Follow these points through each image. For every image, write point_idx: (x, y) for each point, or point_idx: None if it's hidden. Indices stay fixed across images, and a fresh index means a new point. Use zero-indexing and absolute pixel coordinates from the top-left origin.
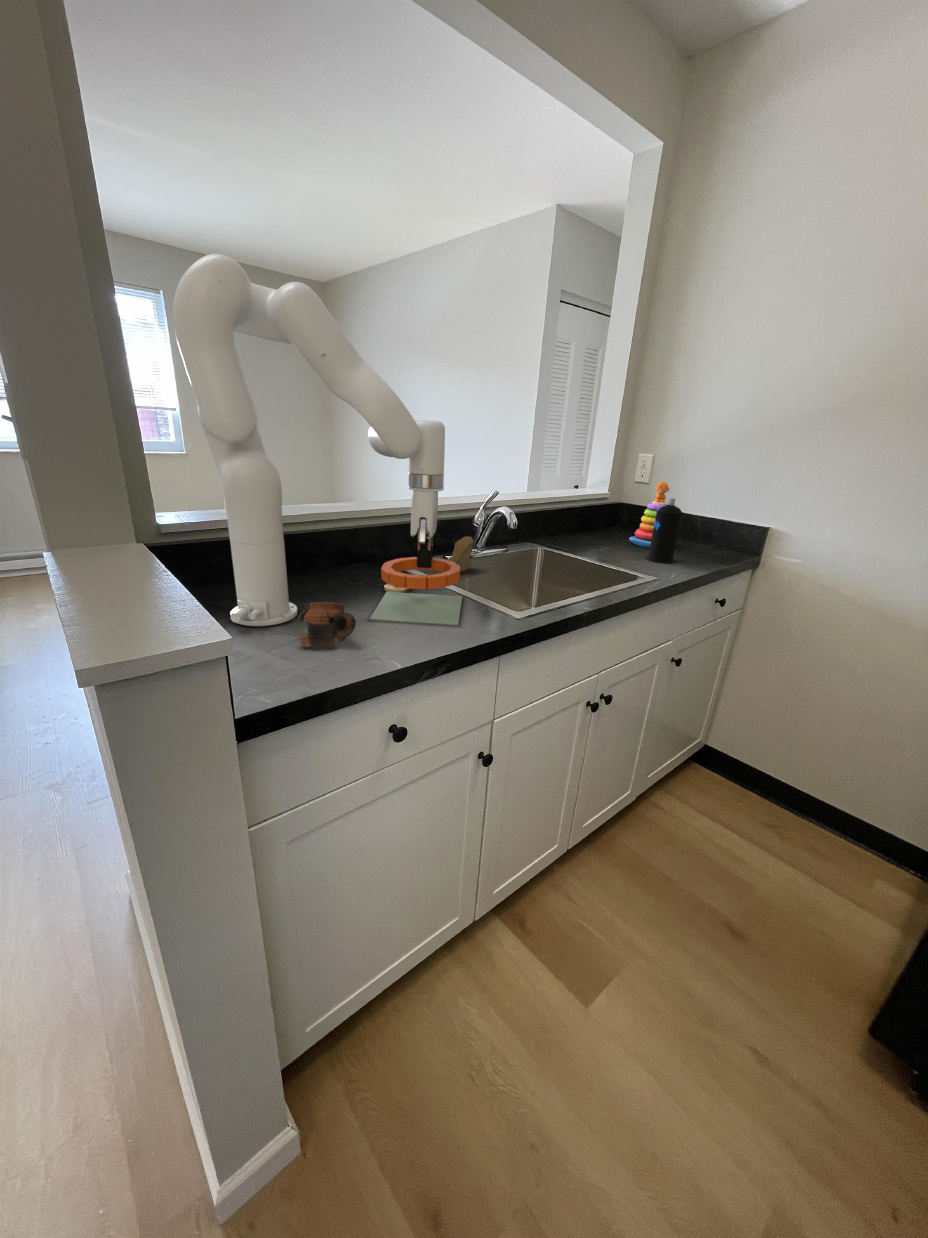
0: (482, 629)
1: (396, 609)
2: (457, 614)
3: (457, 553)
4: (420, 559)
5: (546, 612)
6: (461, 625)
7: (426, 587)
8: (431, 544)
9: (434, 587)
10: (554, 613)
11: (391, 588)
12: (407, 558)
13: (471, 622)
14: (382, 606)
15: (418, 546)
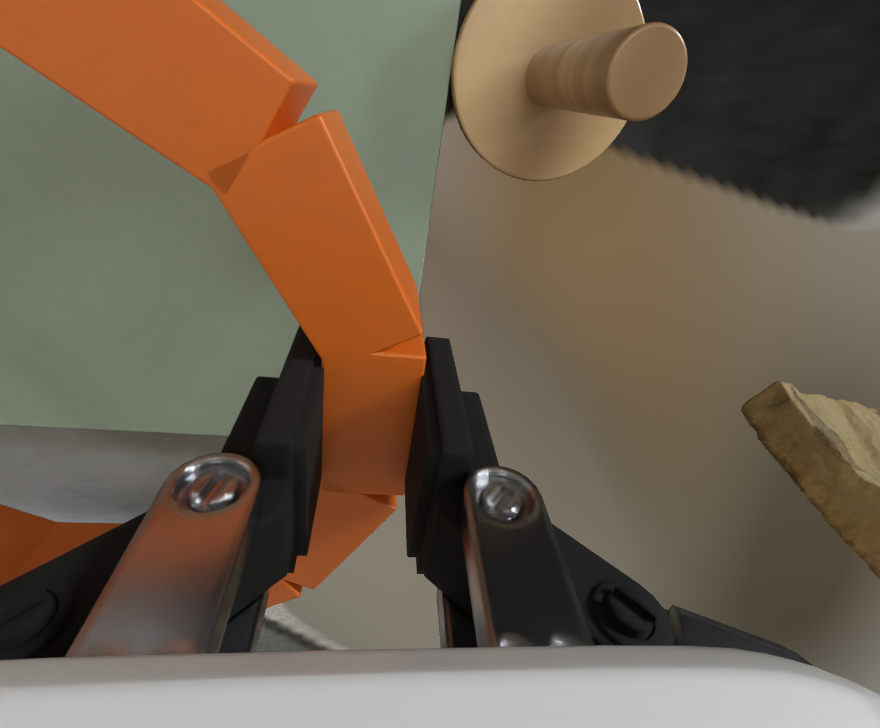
0: (8, 493)
1: (48, 79)
2: (121, 423)
3: (859, 509)
4: (248, 401)
5: (280, 634)
6: (10, 429)
7: None
8: (439, 595)
9: None
10: (277, 647)
11: (485, 23)
12: (329, 245)
13: (73, 463)
14: None
15: (151, 515)
